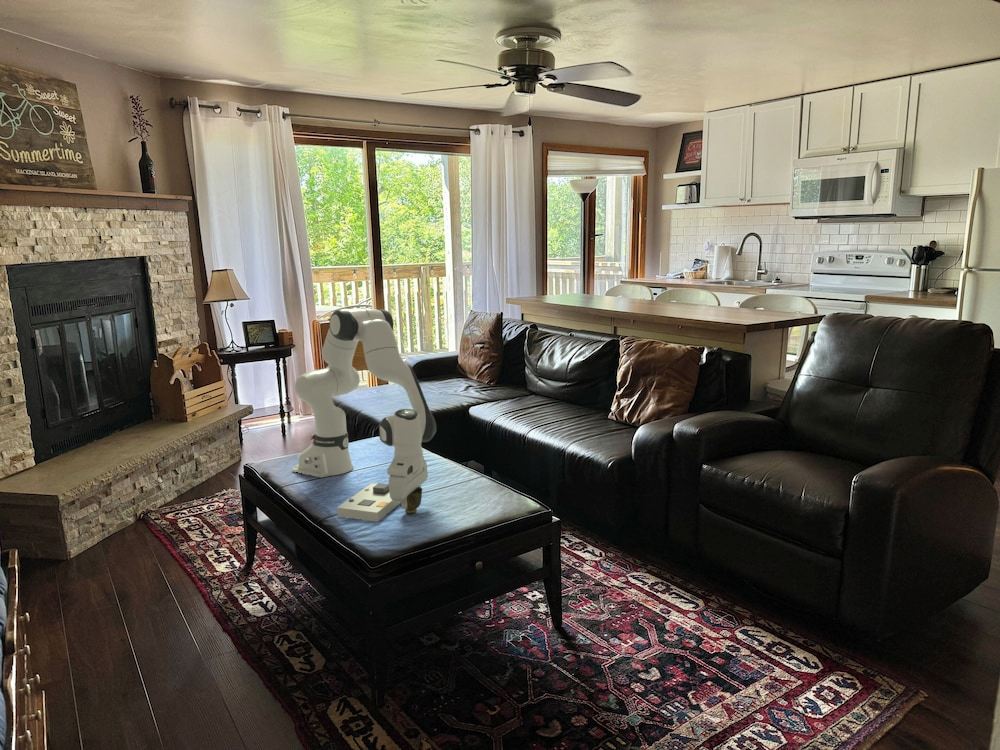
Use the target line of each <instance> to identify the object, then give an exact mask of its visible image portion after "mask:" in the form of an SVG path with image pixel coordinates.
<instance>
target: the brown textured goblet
mask: <svg viewBox="0 0 1000 750" xmlns="http://www.w3.org/2000/svg"><path fill="white" fill-rule="evenodd" d="M422 493H423V488H422V486H421V487H420V488H419V487H418V488H416V489H415V490H414V491H413V492H412V493H410V494H409V495H408V496H407V499H406V500H407V502H409V507H408V508H407V509H404V512H405V513H406V514H407V515H415V514H416V513H417V512H418V508H419V507H421V506H420V505H421V504H422V497H423V496H422V495H423V494H422ZM400 504H401V502H400Z"/></svg>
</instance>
